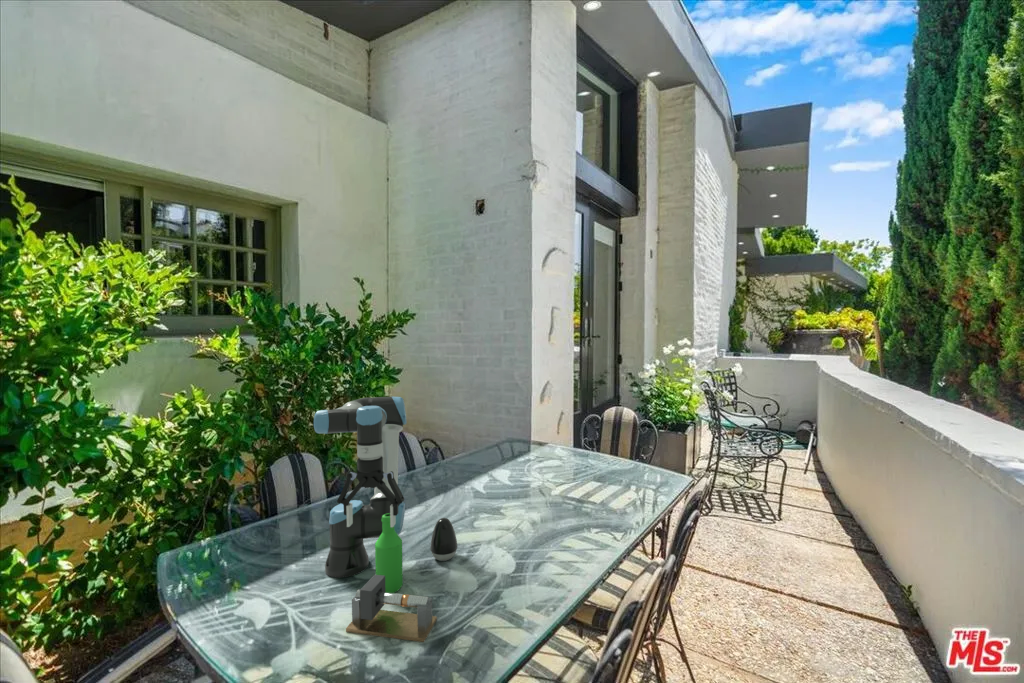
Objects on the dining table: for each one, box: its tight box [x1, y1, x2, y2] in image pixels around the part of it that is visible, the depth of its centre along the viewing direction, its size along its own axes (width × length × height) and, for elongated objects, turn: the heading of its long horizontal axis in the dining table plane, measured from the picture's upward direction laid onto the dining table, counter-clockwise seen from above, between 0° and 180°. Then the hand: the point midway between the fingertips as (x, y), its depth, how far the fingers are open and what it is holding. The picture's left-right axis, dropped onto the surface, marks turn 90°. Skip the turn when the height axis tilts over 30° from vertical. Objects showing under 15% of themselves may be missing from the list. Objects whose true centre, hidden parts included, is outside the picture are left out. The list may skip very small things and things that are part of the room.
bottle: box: [374, 513, 404, 593], centre depth 152 cm, size 9×9×25 cm
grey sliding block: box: [359, 574, 386, 620], centre depth 134 cm, size 4×8×8 cm, turn 168°
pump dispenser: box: [429, 517, 458, 562], centre depth 173 cm, size 10×10×15 cm
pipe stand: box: [345, 588, 438, 643], centre depth 133 cm, size 24×10×10 cm, turn 78°
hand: (371, 525), depth 139 cm, fingers open, 13 cm apart
